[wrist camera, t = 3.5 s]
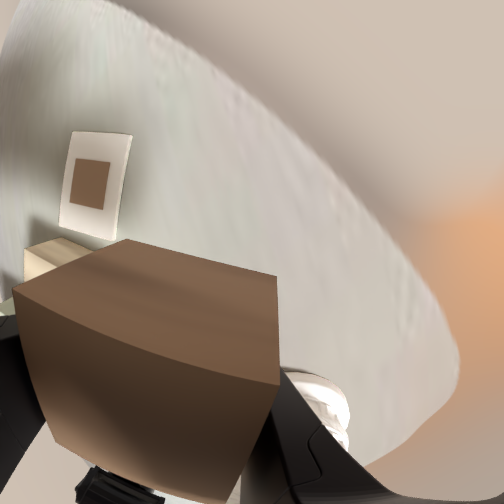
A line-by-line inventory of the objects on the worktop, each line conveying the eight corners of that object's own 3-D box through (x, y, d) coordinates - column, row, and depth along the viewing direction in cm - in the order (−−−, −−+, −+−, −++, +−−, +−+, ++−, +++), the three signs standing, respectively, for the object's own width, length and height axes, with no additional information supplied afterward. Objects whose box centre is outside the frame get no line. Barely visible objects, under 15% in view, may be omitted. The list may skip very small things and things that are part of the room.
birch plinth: (132, 359, 22) (108, 391, 17) (59, 320, 22) (29, 342, 17) (146, 271, 20) (113, 294, 15) (63, 236, 20) (24, 248, 15)
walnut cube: (242, 395, 10) (223, 507, 5) (121, 359, 10) (55, 441, 5) (276, 276, 8) (280, 385, 4) (126, 238, 8) (11, 287, 4)
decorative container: (345, 441, 23) (371, 584, 5) (238, 453, 24) (216, 593, 7) (347, 360, 20) (411, 568, 3) (209, 378, 22) (145, 575, 4)
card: (115, 240, 19) (111, 241, 19) (62, 225, 20) (57, 226, 19) (133, 135, 18) (129, 134, 17) (75, 132, 18) (71, 131, 17)
